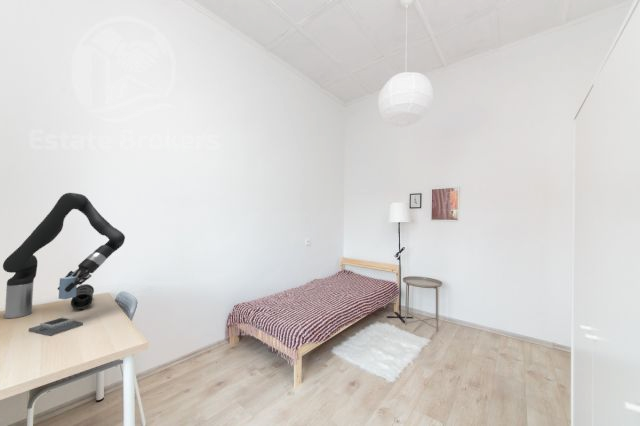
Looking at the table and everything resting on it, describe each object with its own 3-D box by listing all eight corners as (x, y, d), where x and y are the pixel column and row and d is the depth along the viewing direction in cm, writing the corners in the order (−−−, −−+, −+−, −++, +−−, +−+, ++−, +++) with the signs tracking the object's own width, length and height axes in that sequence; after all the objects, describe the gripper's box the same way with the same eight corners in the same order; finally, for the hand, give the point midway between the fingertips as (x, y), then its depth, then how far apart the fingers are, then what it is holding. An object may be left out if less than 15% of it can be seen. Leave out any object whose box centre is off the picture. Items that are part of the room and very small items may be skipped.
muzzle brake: (69, 313, 136) (70, 294, 136) (73, 300, 156) (74, 284, 157) (92, 309, 142) (93, 291, 143) (93, 297, 163) (94, 282, 163)
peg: (58, 298, 119) (59, 278, 119) (69, 295, 123) (71, 276, 124) (64, 299, 118) (65, 279, 118) (76, 296, 122) (77, 277, 123)
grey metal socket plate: (28, 331, 113) (28, 324, 113) (61, 321, 124) (62, 314, 125) (50, 336, 109) (50, 328, 109) (82, 325, 120) (83, 318, 120)
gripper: (78, 257, 130) (46, 285, 118) (96, 259, 127) (66, 287, 115) (89, 265, 135) (59, 293, 123) (107, 267, 132) (79, 295, 119)
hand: (62, 290), depth 119 cm, fingers closed on peg, 4 cm apart
